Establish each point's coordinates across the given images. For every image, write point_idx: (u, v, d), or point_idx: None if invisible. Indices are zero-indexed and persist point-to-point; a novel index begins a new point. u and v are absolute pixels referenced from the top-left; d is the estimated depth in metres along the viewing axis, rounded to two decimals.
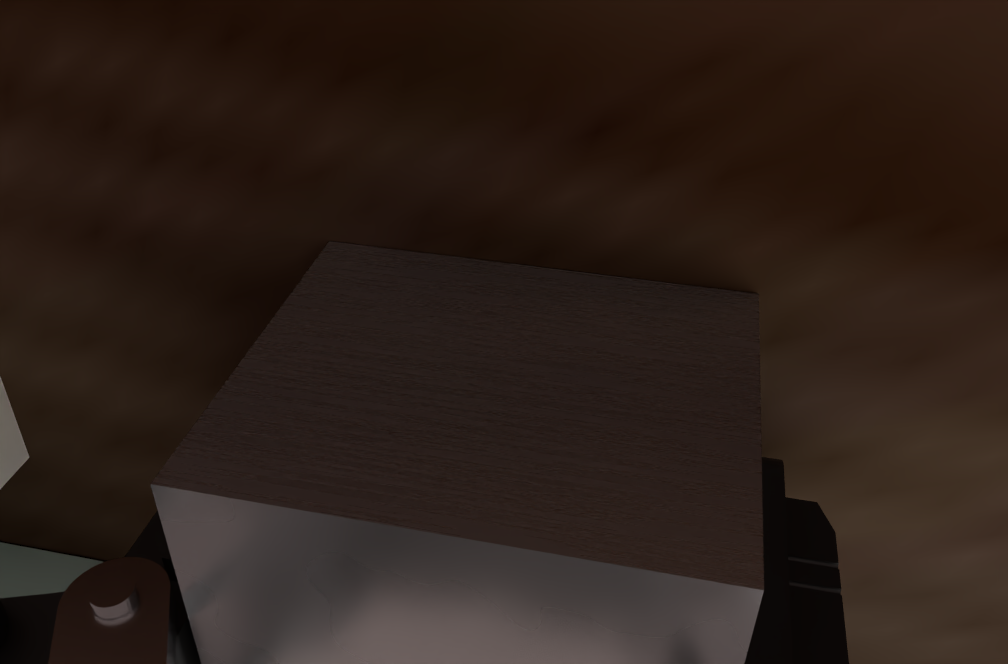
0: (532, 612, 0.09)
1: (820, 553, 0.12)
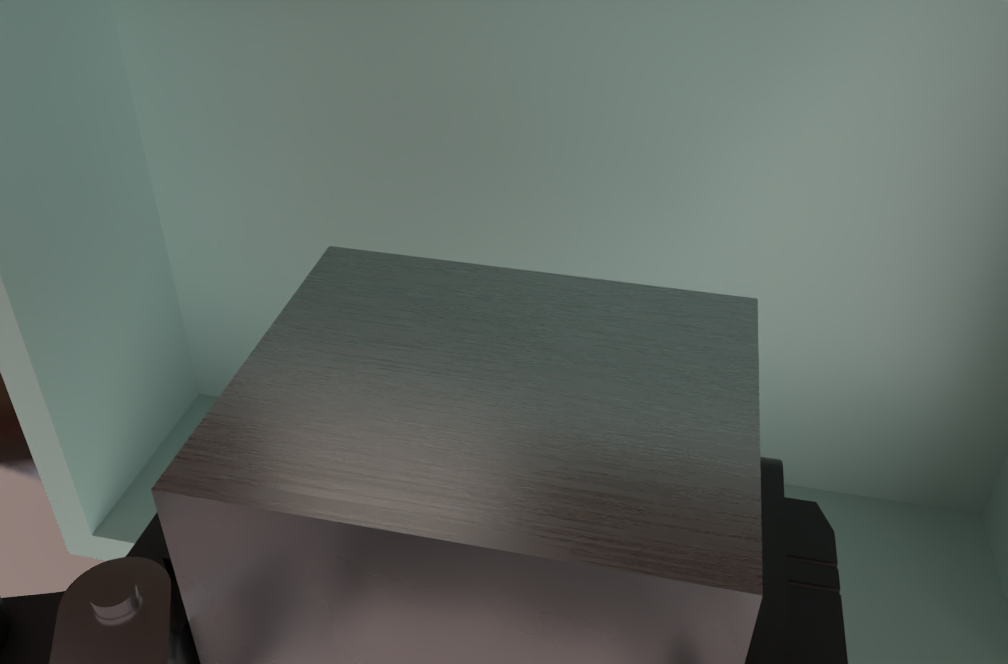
0: (531, 617, 0.09)
1: (819, 553, 0.12)
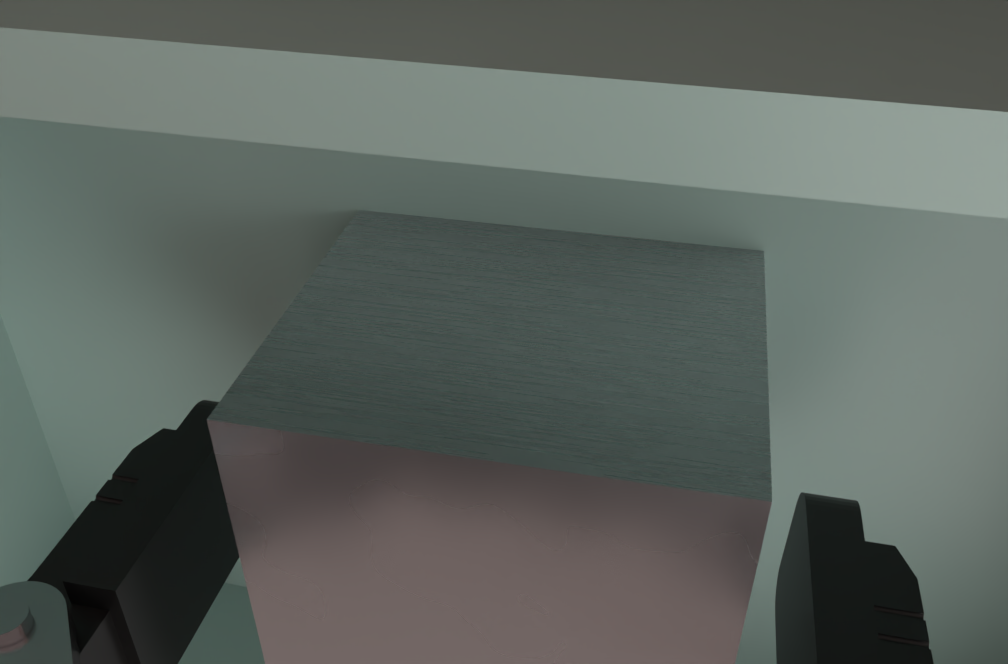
0: (558, 533, 0.10)
1: (904, 602, 0.11)
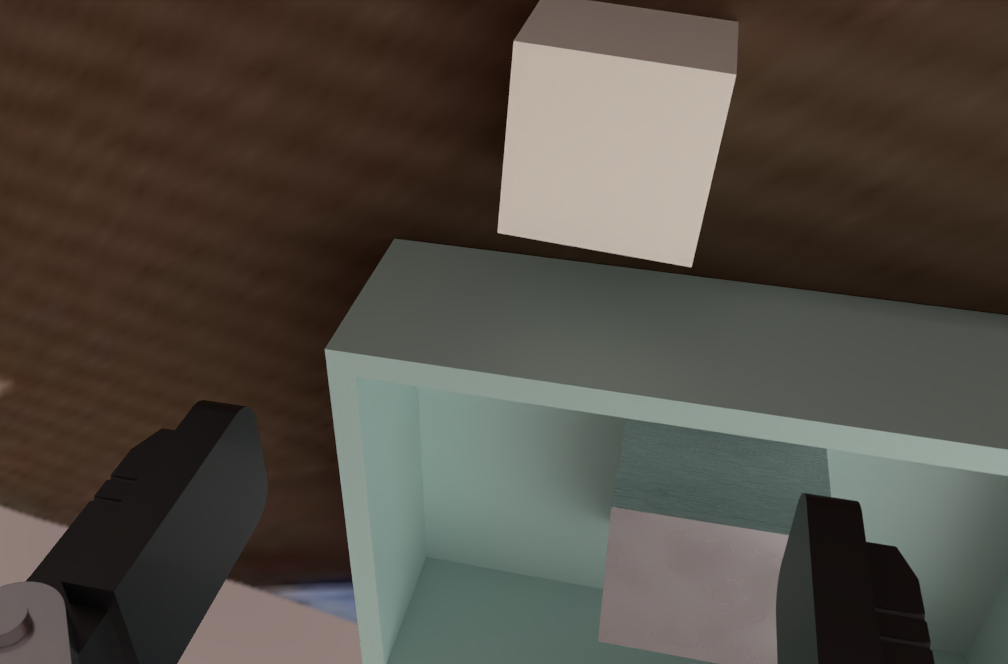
0: (750, 552, 0.26)
1: (905, 603, 0.11)
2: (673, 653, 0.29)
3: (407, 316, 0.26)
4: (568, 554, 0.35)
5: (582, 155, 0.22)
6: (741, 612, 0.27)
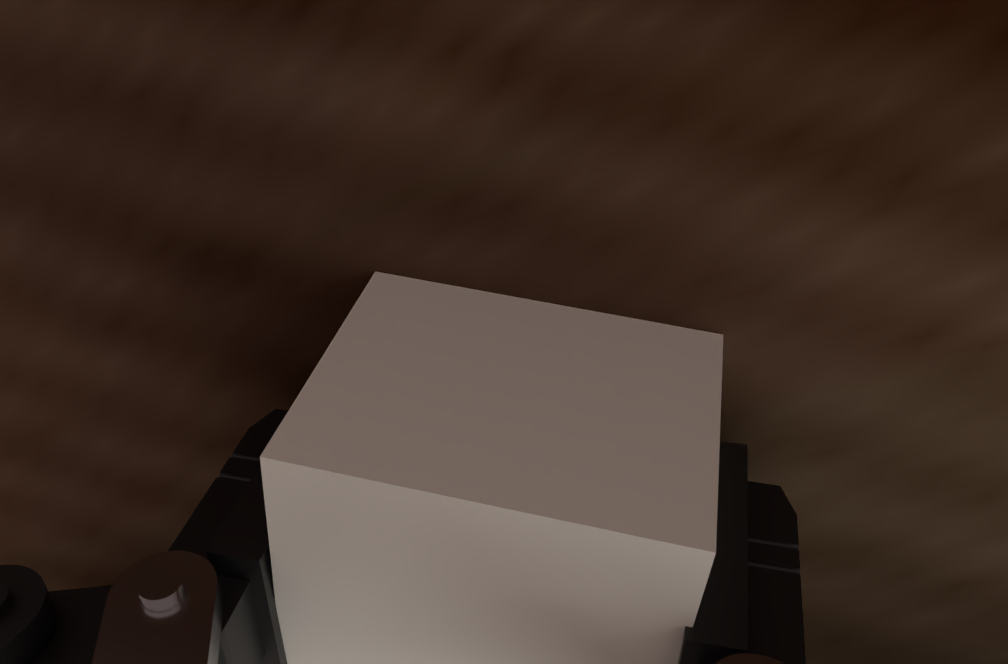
0: None
1: (781, 535, 0.12)
2: None
3: None
4: None
5: (420, 635, 0.11)
6: None
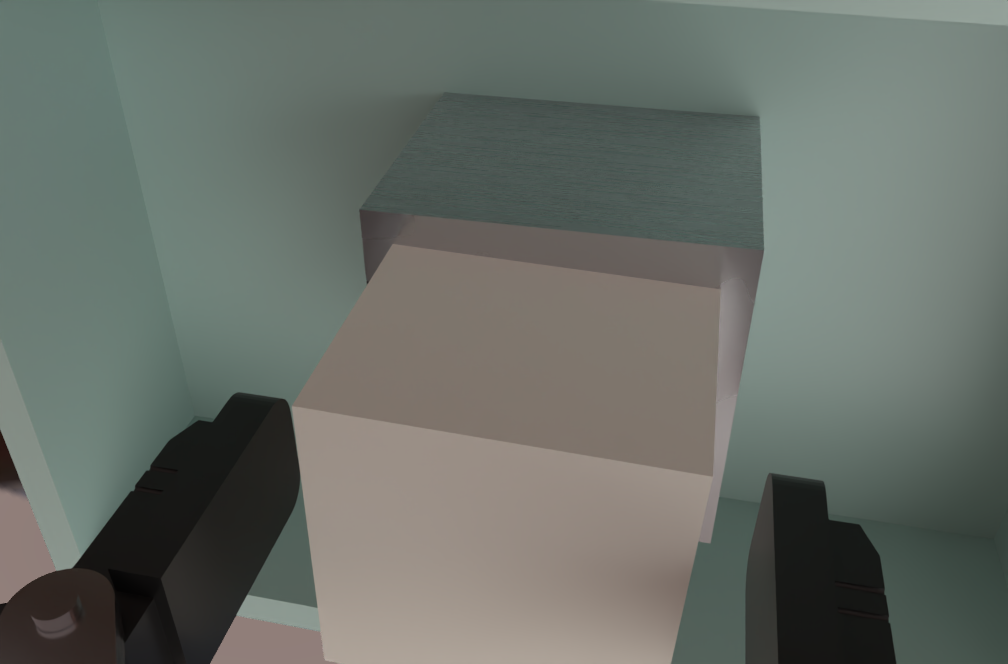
0: None
1: (865, 578, 0.11)
2: None
3: None
4: None
5: (444, 572, 0.12)
6: None
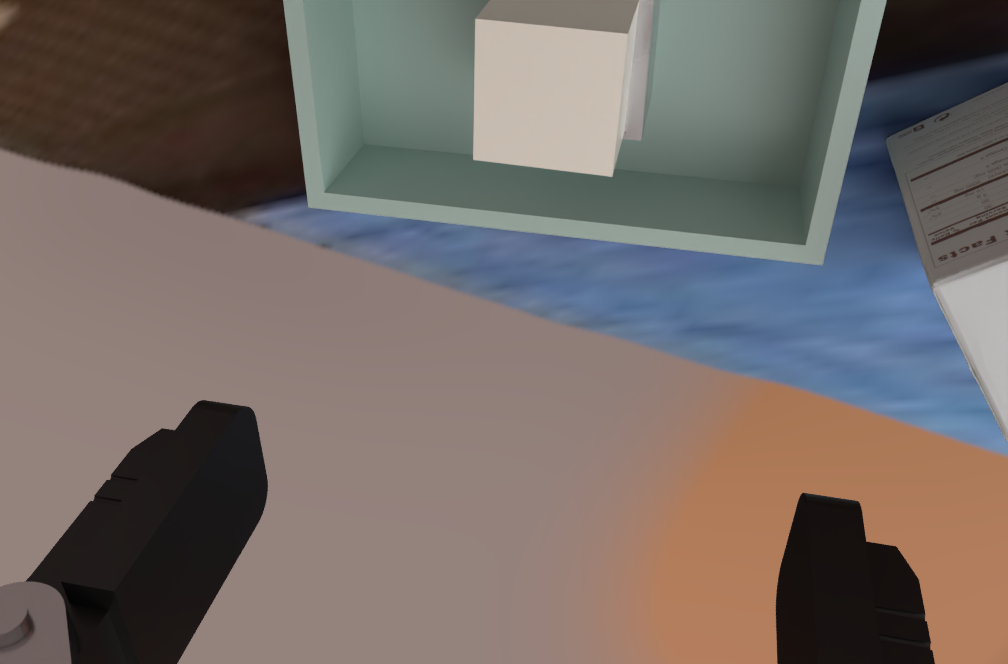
0: None
1: (904, 603, 0.11)
2: None
3: None
4: None
5: (528, 98, 0.32)
6: None
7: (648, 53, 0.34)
